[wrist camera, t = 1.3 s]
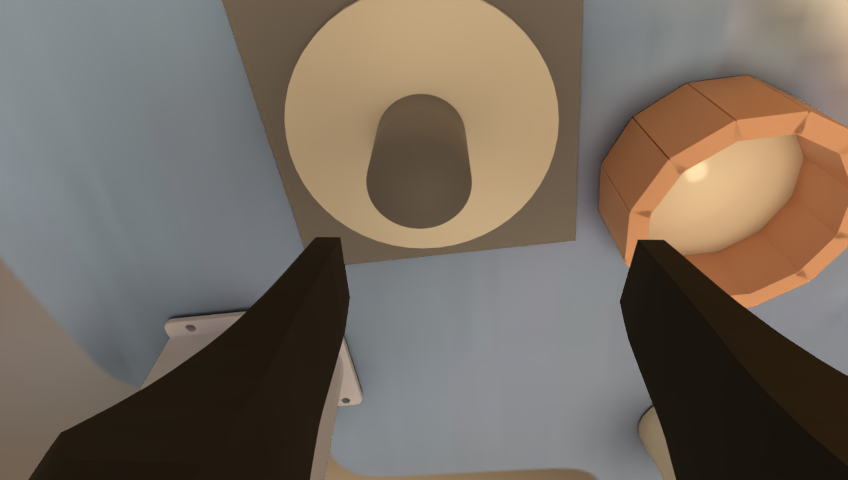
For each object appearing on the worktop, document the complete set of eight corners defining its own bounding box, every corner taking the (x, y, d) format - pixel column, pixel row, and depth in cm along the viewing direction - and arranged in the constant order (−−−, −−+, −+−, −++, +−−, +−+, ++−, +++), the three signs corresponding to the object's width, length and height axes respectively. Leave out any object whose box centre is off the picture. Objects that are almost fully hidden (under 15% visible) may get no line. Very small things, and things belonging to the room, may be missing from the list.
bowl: (594, 264, 26) (618, 319, 22) (605, 93, 21) (637, 131, 18) (778, 245, 25) (831, 299, 22) (834, 63, 20) (913, 98, 17)
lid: (325, 250, 25) (305, 317, 21) (252, 8, 19) (204, 40, 15) (554, 225, 24) (578, 291, 20) (555, -38, 18) (590, -18, 14)
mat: (312, 263, 26) (311, 268, 26) (220, -19, 19) (216, -18, 18) (573, 235, 25) (575, 240, 24) (582, -77, 18) (586, -76, 17)
